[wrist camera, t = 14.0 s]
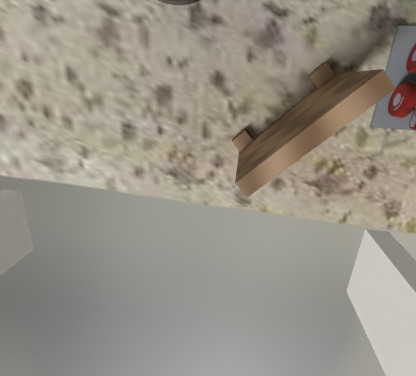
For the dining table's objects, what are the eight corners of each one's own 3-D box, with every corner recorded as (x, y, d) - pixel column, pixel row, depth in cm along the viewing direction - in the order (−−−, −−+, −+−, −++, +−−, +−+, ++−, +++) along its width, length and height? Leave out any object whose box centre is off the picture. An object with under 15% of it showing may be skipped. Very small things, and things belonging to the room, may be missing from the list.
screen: (256, 171, 42) (259, 210, 29) (230, 141, 41) (222, 168, 28) (352, 97, 37) (408, 106, 24) (325, 61, 35) (369, 49, 23)
